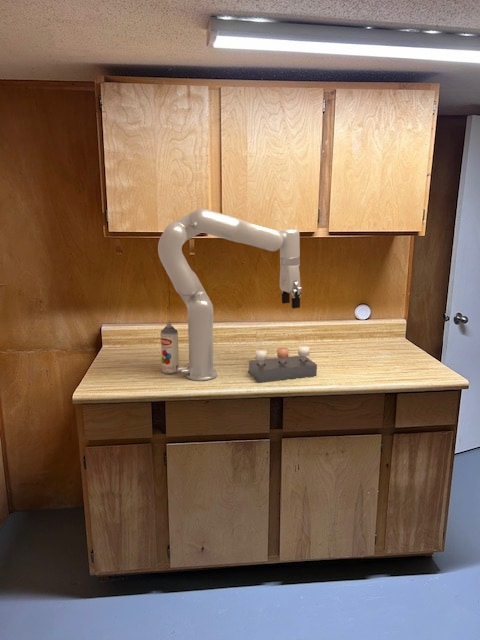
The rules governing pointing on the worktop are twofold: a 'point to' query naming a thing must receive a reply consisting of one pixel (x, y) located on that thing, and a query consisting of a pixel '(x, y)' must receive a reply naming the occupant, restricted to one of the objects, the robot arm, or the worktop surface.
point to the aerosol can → (169, 350)
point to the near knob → (261, 356)
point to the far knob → (303, 352)
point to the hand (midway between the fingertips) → (290, 305)
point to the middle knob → (282, 354)
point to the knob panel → (282, 369)
